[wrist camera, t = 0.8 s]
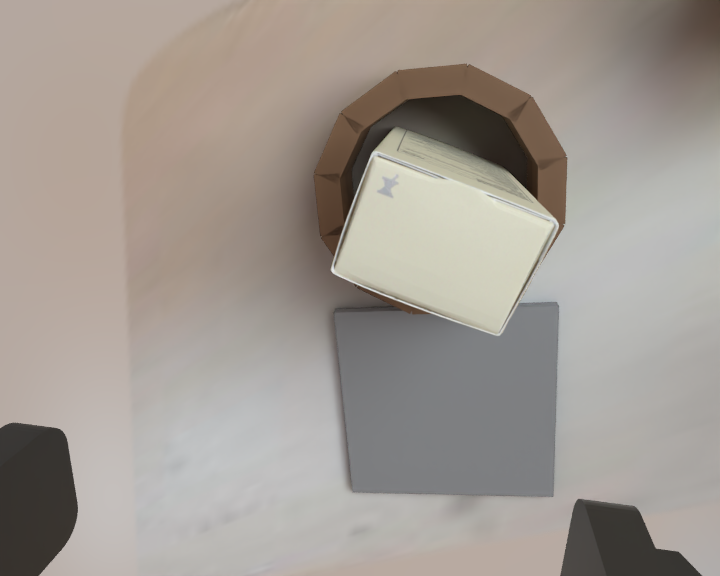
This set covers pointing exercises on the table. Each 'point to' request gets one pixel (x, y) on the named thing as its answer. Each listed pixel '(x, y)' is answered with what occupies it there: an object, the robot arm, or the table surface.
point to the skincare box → (443, 232)
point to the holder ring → (433, 82)
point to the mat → (449, 402)
